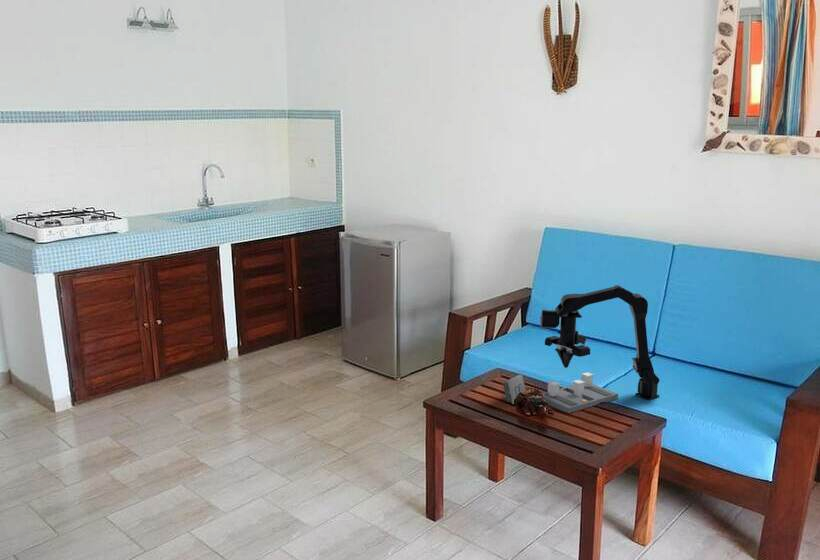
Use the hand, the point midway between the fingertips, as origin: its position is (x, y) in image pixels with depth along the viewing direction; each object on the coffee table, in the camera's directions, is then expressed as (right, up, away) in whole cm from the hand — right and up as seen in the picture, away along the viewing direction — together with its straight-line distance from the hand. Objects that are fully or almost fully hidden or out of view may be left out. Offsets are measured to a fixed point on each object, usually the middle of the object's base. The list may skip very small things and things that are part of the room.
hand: (565, 367), depth 273 cm
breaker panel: (+4, -12, -4) cm, 13 cm away
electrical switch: (-20, -12, -5) cm, 24 cm away
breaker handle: (+4, -12, -4) cm, 13 cm away
